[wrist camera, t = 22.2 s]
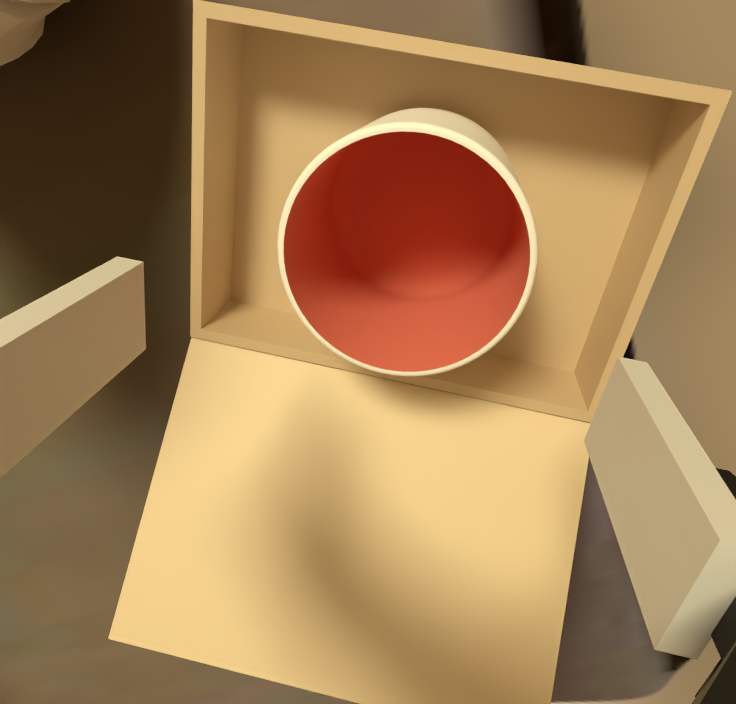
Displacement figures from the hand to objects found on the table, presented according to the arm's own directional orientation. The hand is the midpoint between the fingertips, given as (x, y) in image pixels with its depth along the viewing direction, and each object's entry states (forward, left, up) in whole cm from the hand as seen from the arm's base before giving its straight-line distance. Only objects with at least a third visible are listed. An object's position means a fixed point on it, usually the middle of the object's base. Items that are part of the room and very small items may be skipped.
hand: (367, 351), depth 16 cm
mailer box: (0, 0, -18) cm, 18 cm away
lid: (0, -14, -8) cm, 16 cm away
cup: (0, 0, -17) cm, 17 cm away
